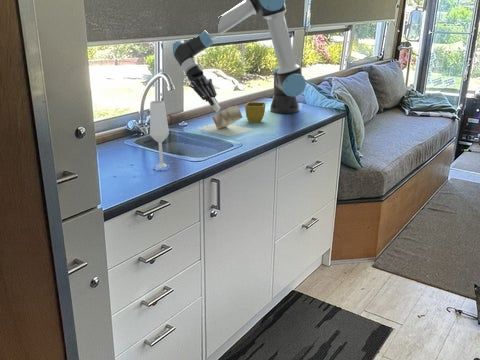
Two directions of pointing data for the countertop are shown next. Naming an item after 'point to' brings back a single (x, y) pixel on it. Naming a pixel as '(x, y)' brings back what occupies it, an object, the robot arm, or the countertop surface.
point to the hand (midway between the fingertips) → (218, 110)
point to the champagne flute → (158, 126)
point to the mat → (225, 129)
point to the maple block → (227, 117)
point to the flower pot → (255, 111)
